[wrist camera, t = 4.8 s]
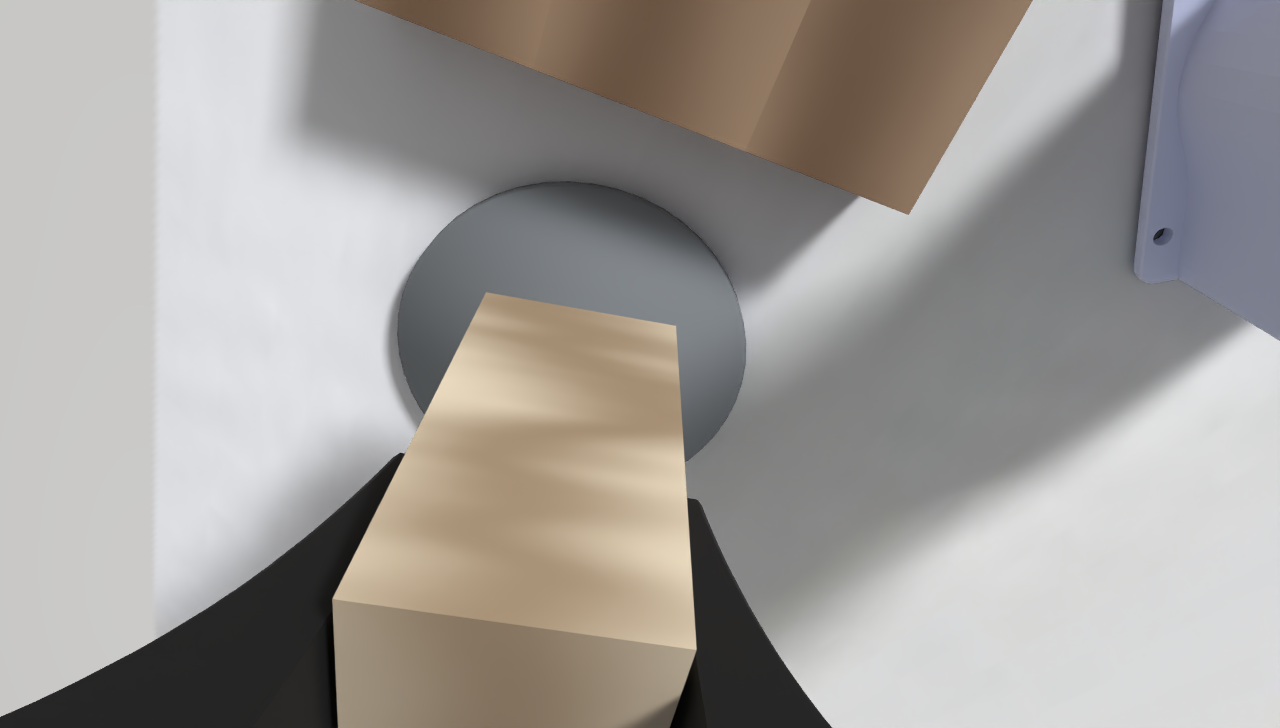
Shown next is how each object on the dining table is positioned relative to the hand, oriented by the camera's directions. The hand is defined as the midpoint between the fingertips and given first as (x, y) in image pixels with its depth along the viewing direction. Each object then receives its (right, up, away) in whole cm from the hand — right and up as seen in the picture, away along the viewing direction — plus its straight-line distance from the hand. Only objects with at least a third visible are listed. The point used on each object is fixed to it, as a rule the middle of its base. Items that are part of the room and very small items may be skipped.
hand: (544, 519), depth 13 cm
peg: (0, +2, +3) cm, 4 cm away
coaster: (0, +3, +10) cm, 11 cm away
